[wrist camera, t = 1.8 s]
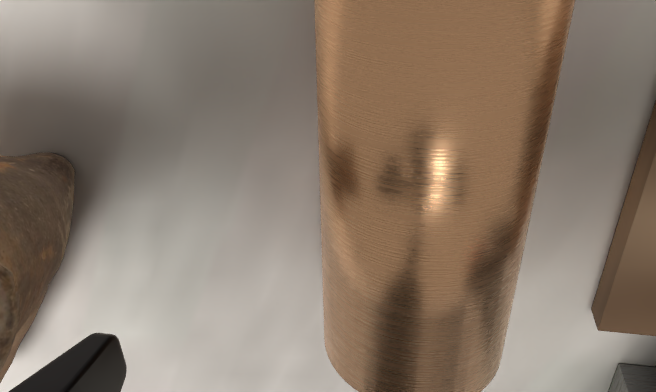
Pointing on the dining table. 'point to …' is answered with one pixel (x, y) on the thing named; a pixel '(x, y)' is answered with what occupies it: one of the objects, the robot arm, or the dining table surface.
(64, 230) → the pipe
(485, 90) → the tan rounded oblong piece
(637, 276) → the pipe cradle
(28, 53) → the dining table surface
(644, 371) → the valve block
